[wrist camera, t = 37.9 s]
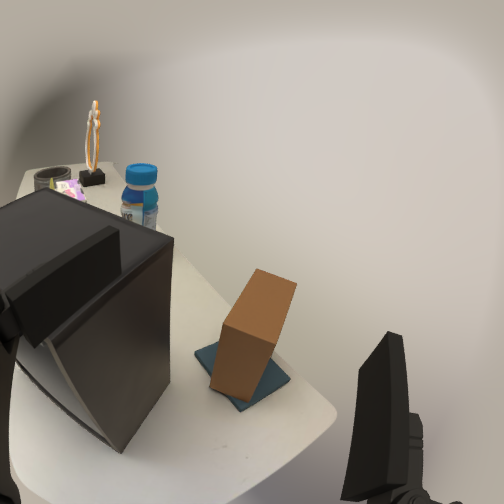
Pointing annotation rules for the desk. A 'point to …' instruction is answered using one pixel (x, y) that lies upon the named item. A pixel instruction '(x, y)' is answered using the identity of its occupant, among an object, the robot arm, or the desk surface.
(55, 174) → the planter
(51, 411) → the desk surface
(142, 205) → the beverage bottle
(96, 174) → the lamp
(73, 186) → the candy box
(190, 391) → the desk surface
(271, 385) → the silicone mat
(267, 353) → the brown packet
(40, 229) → the mini cabinet
